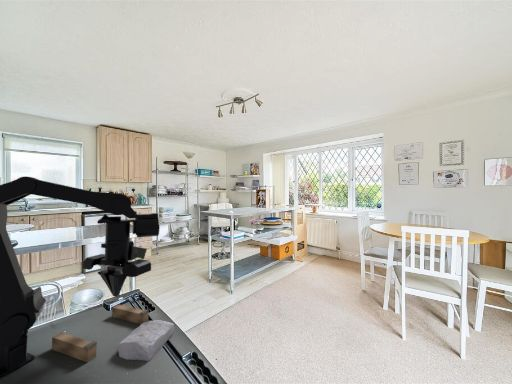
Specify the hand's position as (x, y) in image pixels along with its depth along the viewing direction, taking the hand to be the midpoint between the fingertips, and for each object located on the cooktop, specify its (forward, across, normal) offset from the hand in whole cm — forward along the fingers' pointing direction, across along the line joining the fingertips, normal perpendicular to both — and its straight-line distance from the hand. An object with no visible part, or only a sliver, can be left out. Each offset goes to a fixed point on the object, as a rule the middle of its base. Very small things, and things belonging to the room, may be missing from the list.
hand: (116, 296), depth 61 cm
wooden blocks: (+11, +3, 0) cm, 11 cm away
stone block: (+12, -10, -1) cm, 15 cm away
